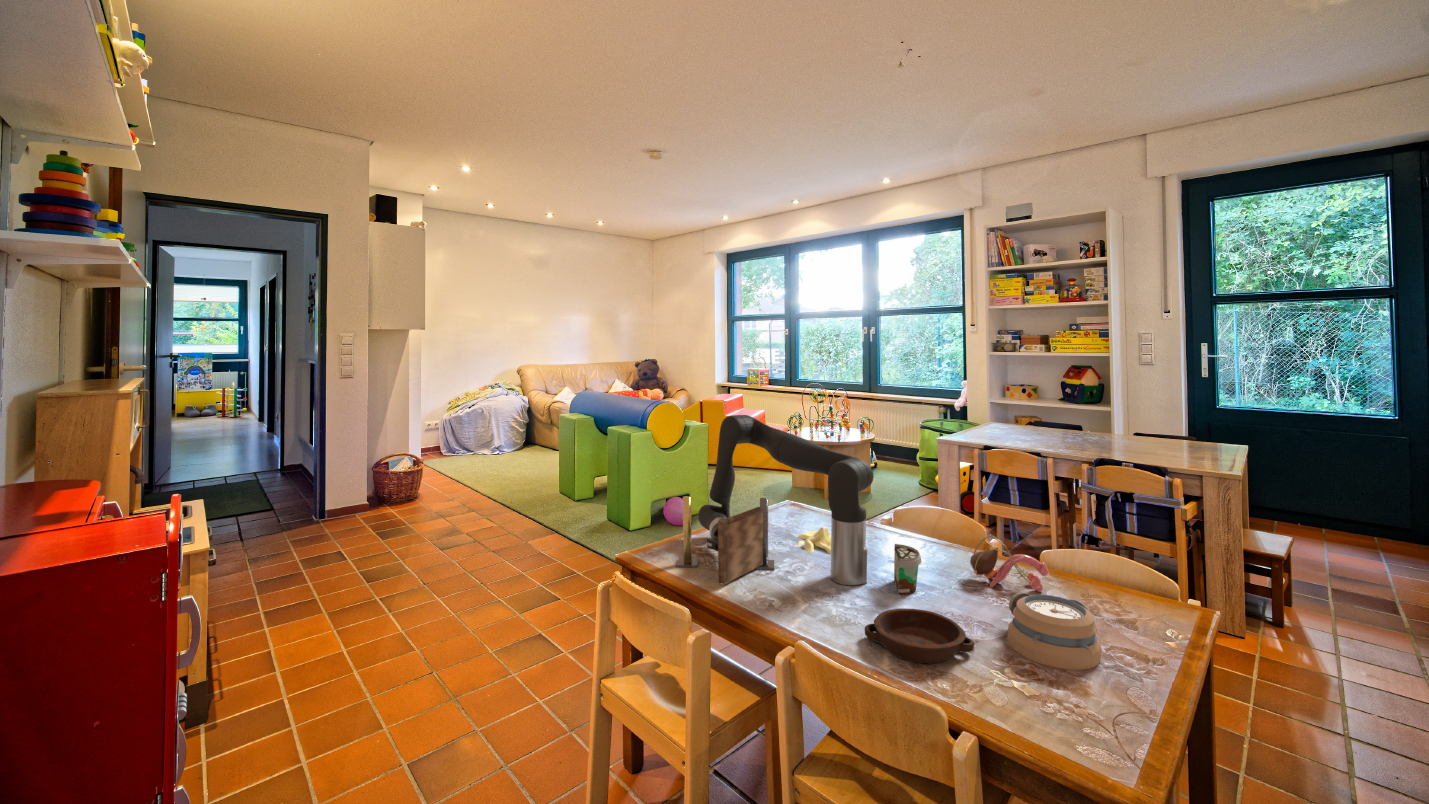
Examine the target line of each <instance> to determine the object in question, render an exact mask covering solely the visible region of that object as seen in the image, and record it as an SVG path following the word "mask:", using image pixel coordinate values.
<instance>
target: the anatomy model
mask: <svg viewBox="0 0 1429 804" xmlns="http://www.w3.org/2000/svg"><path fill="white" fill-rule="evenodd" d="M990 537H992V538H994V539H995V540H996V541H997V542H998V543H1000V544H1001V545H1002V546H1003V547H1004V548H1005V549H1006V550H1001V549H999V548H998V547H994V545H993V544H991V545H988V546H987V547H986V548H985V549H984V550H983V551H978V552H976V551H977V550H978V548H979V546H980V545H981V544H982V543H983V542H984V541H985V540H987V539H989V538H990ZM990 548H992V549H990ZM988 549H989V550H988ZM999 552H1001V553H1006V554H1007V556H1008V558H1007V559H1006V560H1005V561H1003V563H1002V564H1001V565H1000V566H999V567H998V568H995V567H996V564H997V561H998V556H999ZM969 563H970V567H971V568H972V570H973V573H974V574H975V575H976V576H983V575H984V578H986V579H989V580H990V579H992V581H991V582H990V585H989V587H990V588H994V587H995V586H996V584H998V583H1002V582H1003V581H1004V580H1006V578H1007V577H1008V576H1009V574H1010V572H1011V570H1012V569H1013V567H1014V568H1015V569H1016V571H1017V572H1014V575H1015V577H1016V578H1017V580H1020V578H1023V579H1024V580H1025V581H1026V582H1027V583H1028V585H1029V586H1030V587H1031V588H1032V589H1033V590H1034V591H1035V592H1038V593H1042V592H1043V591H1044V586H1043V584H1042V581H1041V579H1040V577H1039V576H1038V574H1037V575H1036V574H1034V573H1031V572H1025V570H1024V569H1021V568H1020V567H1019V566H1018V564H1020V563H1023V564H1026V565H1029V566H1031V567H1032V568H1034V569H1035V570H1036V571H1037V572H1038V573H1039V574H1040V575H1041V576H1042V577H1047V576H1048V575H1049V573H1050V572H1049V569H1048V567H1047V565H1046V563H1045V562H1044V561H1041V562H1040V561H1039V560H1038V559H1036V558H1035V557H1033V556H1031V555H1028V554H1021V553H1020V554H1014V555H1012V554H1011V552H1010V551H1009V549H1008V548H1007V546H1006V544H1004V543H1003V542H1002V541H1000V540H999V539H998V538H997V537H995V536H994V535H993V534H989V535H987V536H986V537H984V538H983V539H981V540H980V542H979V543H978V544H977V545H976V547H975V549H974V552H973V554H972V555H971V556H970V560H969ZM1018 575H1019V577H1018Z"/></svg>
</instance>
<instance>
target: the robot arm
mask: <svg viewBox="0 0 1429 804" xmlns="http://www.w3.org/2000/svg"><path fill="white" fill-rule="evenodd" d="M740 444H751V445H754V446H757V447H760V448H763V449H764V450H766V451H767V452H768V454H769V456H771V457H772V458H773V459H774V460H775V461H776V462H778V463H780V464H782V465H784V466H787V467H789V468H792V469H794V470H795V469H796V470H798V471H803V472H810V473H816V474H817V473H818V474H823V475H827V496H828V507H829V509H830V513H831V514H830V515H831V518H830V519H831V521H830V522H831V523H830V524H831V525H830V527H831V528H830V529H831V530H830V534H831V536H830V537H831V554H830V580H831V581H832V582H835V583H836V584H840V585H843V586H859V585H862V584H867V582H868V581H867V580H868V579H867V577H868V575H867V573H868V548H867V545H866V541H867V510H866V508H865V507H864V506H863V505H860V503H859V493H860V492H862V491H864V490H866V489H868V488H869V487H870V486H871V485H872V483H873V482H874V471H873V469H872V467H871V466H870V465H869V463H868V462H867V461H865V460H864V459H862V458H859V457H857V456H852V455H849V454H848V455H847V454H846V453H845V454H843V453H841V452H837V451H834V450H831V449H829V448H826V447H824V446H822V445H819V444H817V443H815V442H813V441H810V440H807V439H805V438H803V437H801V436H798V435H795V434H793V433H790V432H788V431H787V432H786V431H785V430H784V431H783V430H781V429H779V428H774V427H772V426H769V425H768V424H766V423H764V422H762V421H760V420H758V419H757V418H756V417H753V416H752V415H749V414H735V415H734V414H733V415H728V416H726V417H724V418H723V420H722V421H721V424H720V429H719V436H718V447H717V454H716V455H717V456H716V466H715V471H714V476H713V479H712V483H711V487H710V490H709V498H710V500H712V501H713V502H715V503H717V504H719V505H721V506H719V505H712V504H703V505H702V506H701V507H700V509H698V513H697V518H698V522H699V524H700V525H701V526H702V527H703V528H704V529H706V530H707V531H709V535H710V538H707V541H706V548H707V549H710V550H713V551H715V552H718V520H721V519H723V520H724V519H727V518H729V517H731V510H730V505H731V497H732V493H733V489H734V486H735V481H736V472H735V468H734V463H733V461H734V460H733V457H734V453H735V450H736V448H737V445H740Z"/></svg>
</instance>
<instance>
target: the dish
mask: <svg viewBox="0 0 1429 804" xmlns="http://www.w3.org/2000/svg"><path fill="white" fill-rule="evenodd" d="M864 635H865V636H866V637H867V638H868V639H869V640H871V641H874V642H877V643H880V644H881V645H883V647H884V648H885V649H886V650H887V651H889V652H890V653H891V654H893V655H895V656H896V657H898V658H901V659H903V660H906V661H910V662H913V663H914V662H915V663H920V664H933V663H934V664H935V663H940V662H943V661H946V660H948V659H950V658H951V657H953V656H954V655H955V654H957V653H970V652H972V651H973V650H974V649H975V648H974V647H975V642H974V641H973V639H972V638H970V637H967V636H966V632H965V630H964V629H963V628H962V627H961V625H959V624H958V623H957V622H956V621H955V620H953V619H951V618H948V617H946V616H945V615H942V614H940V613H937V612H934V611H931V610H924V609H920V608H919V609H917V608H903V607H902V608H893V609H887V610H884V611H882V612H880V613H879V614H878V615H876V617H875V618H874V620H873V623H869V624H867V625H865V627H864Z"/></svg>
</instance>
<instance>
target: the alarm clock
mask: <svg viewBox="0 0 1429 804" xmlns="http://www.w3.org/2000/svg"><path fill="white" fill-rule="evenodd" d="M1008 603H1009V604H1008V608H1009V609H1008V610H1009V611H1010V613H1011V615H1013V618H1012V620H1011V621H1010V622H1009V623H1008V627H1007V642H1008V643H1009V645H1010V646H1011V648H1012V649H1013V650H1014V651H1015V652H1017V653H1018V654H1020V655H1021V656H1023V657H1025V658H1027V659H1029V660H1031V661H1033V662H1035V663H1039V664H1040V665H1041V664H1042V665H1044V666H1047V667H1052V668H1055V669H1061V670H1070V671H1086V670H1088V669H1093V668H1094V667H1097V666H1098V665H1099V664H1100V662H1101V661H1102V660H1101V659H1102V647H1101V642H1100V640H1099V639H1098V638H1097V637H1098V636H1097V635H1096V634H1097V632H1098V627H1097V624H1096V623H1095V616H1094V614H1093V613H1092V612H1091V611H1090V610H1089V608H1088V606H1086V604H1084V603H1083V602H1082V601H1080V600H1078V599H1074V598H1064V597H1060V596H1057V595H1056V596H1055V595H1049V594H1029V593H1028V592H1024V591H1023V592H1021V591H1020V592H1017V593H1015V594H1014V595H1012V596H1011V598H1010V599H1009V602H1008Z"/></svg>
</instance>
